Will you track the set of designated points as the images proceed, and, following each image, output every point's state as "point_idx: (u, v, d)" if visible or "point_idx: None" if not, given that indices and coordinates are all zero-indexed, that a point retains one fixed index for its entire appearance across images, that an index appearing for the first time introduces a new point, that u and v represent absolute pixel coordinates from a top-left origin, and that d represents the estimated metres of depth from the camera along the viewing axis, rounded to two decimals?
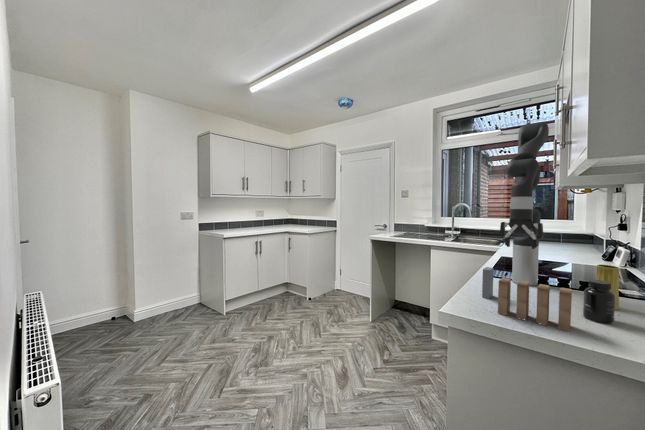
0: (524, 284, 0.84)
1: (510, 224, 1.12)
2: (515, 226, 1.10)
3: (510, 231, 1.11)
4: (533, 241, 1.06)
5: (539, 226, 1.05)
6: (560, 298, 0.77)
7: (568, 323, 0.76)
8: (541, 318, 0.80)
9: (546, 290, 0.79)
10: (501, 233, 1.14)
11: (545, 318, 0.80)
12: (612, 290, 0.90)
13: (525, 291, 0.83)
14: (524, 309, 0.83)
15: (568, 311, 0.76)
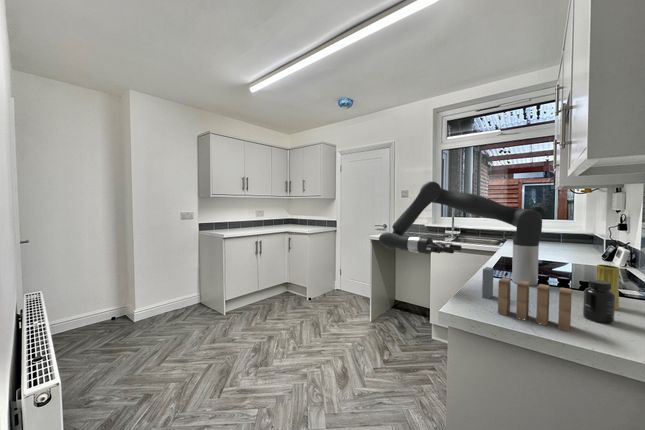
0: (524, 284, 0.84)
1: None
2: None
3: None
4: (446, 252, 1.10)
5: None
6: (560, 298, 0.77)
7: (568, 323, 0.76)
8: (541, 318, 0.80)
9: (546, 290, 0.79)
10: None
11: (545, 318, 0.80)
12: (612, 290, 0.90)
13: (525, 291, 0.83)
14: (524, 309, 0.83)
15: (568, 311, 0.76)
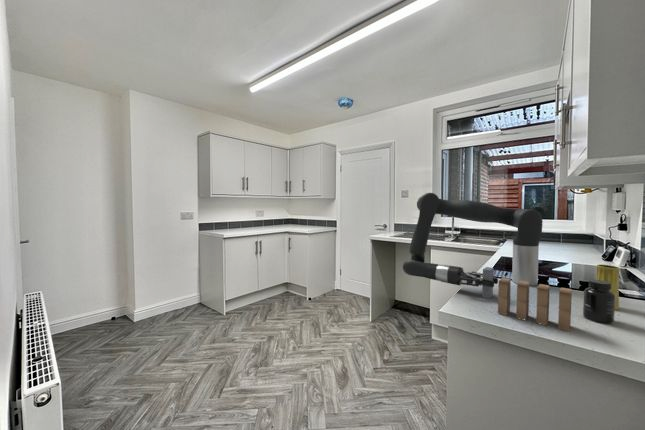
0: (524, 284, 0.84)
1: None
2: None
3: None
4: (484, 285, 1.02)
5: None
6: (560, 298, 0.77)
7: (568, 323, 0.76)
8: (541, 318, 0.80)
9: (546, 290, 0.79)
10: None
11: (545, 318, 0.80)
12: (612, 290, 0.90)
13: (525, 291, 0.83)
14: (524, 309, 0.83)
15: (568, 311, 0.76)
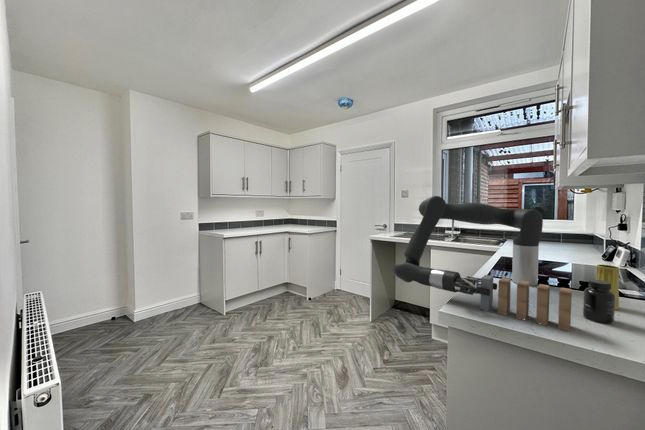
0: (524, 284, 0.84)
1: None
2: None
3: None
4: (479, 293, 0.90)
5: None
6: (560, 298, 0.77)
7: (568, 323, 0.76)
8: (541, 318, 0.80)
9: (546, 290, 0.79)
10: None
11: (545, 318, 0.80)
12: (612, 290, 0.90)
13: (525, 291, 0.83)
14: (524, 309, 0.83)
15: (568, 311, 0.76)
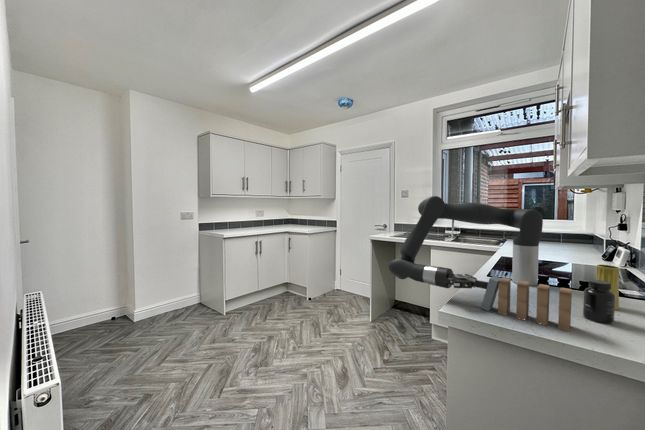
0: (524, 284, 0.84)
1: None
2: None
3: None
4: (478, 287, 0.94)
5: None
6: (560, 298, 0.77)
7: (568, 323, 0.76)
8: (541, 318, 0.80)
9: (546, 290, 0.79)
10: None
11: (545, 318, 0.80)
12: (612, 290, 0.90)
13: (525, 291, 0.83)
14: (524, 309, 0.83)
15: (568, 311, 0.76)
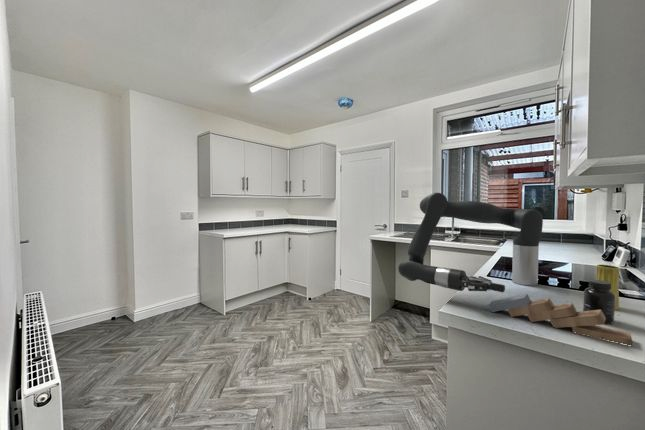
0: (574, 312, 0.76)
1: None
2: None
3: None
4: None
5: None
6: (620, 338, 0.69)
7: None
8: (559, 323, 0.77)
9: (601, 323, 0.71)
10: None
11: (562, 326, 0.77)
12: (612, 290, 0.90)
13: (566, 315, 0.76)
14: (543, 319, 0.80)
15: None
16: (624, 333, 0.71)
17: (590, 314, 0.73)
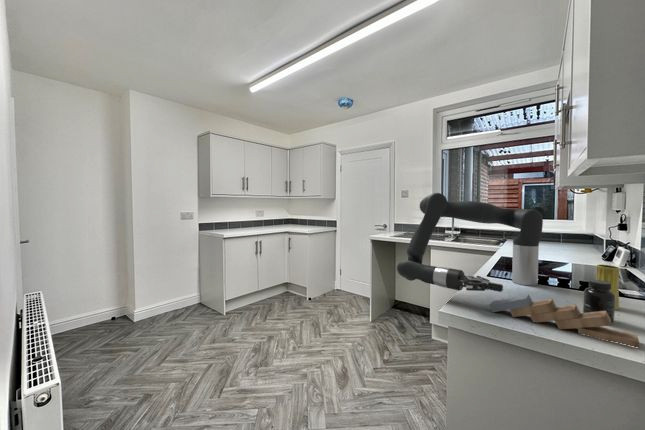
0: (578, 314, 0.75)
1: None
2: None
3: None
4: (491, 289, 0.91)
5: None
6: (627, 340, 0.68)
7: None
8: (565, 324, 0.76)
9: (608, 324, 0.70)
10: None
11: (567, 327, 0.76)
12: (612, 290, 0.90)
13: (570, 318, 0.76)
14: (546, 320, 0.80)
15: None
16: (631, 335, 0.70)
17: (596, 315, 0.73)
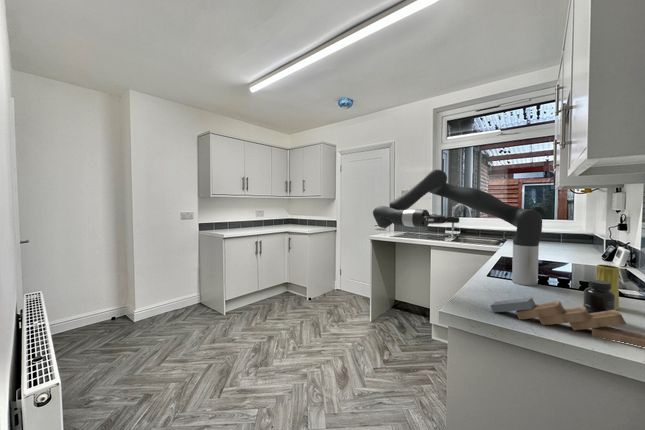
0: (588, 316, 0.74)
1: None
2: None
3: (441, 223, 1.08)
4: (449, 222, 1.04)
5: (431, 222, 1.04)
6: (643, 341, 0.67)
7: None
8: (580, 325, 0.75)
9: (623, 323, 0.70)
10: None
11: (582, 328, 0.75)
12: (612, 290, 0.90)
13: (581, 320, 0.74)
14: (555, 322, 0.78)
15: None
16: None
17: (610, 314, 0.73)
